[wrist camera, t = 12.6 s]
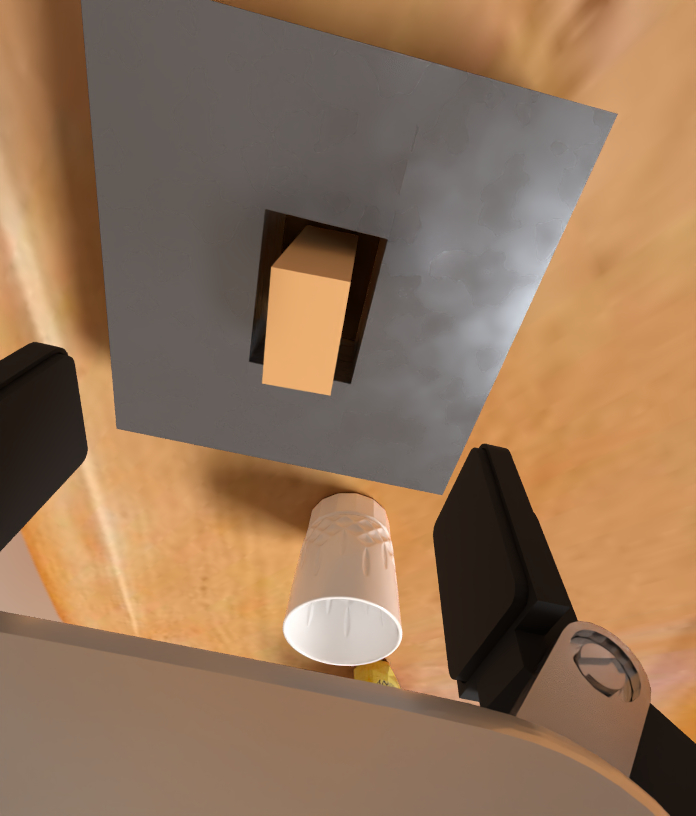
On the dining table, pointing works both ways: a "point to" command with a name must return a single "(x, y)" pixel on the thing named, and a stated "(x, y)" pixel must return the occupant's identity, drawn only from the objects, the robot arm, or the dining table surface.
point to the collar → (322, 202)
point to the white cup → (345, 585)
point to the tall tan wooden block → (308, 310)
